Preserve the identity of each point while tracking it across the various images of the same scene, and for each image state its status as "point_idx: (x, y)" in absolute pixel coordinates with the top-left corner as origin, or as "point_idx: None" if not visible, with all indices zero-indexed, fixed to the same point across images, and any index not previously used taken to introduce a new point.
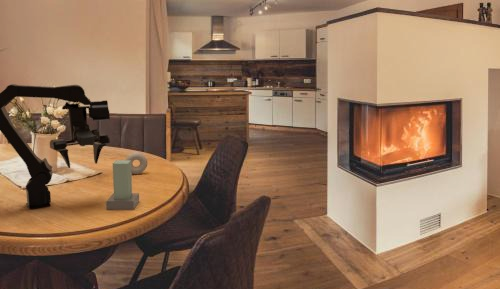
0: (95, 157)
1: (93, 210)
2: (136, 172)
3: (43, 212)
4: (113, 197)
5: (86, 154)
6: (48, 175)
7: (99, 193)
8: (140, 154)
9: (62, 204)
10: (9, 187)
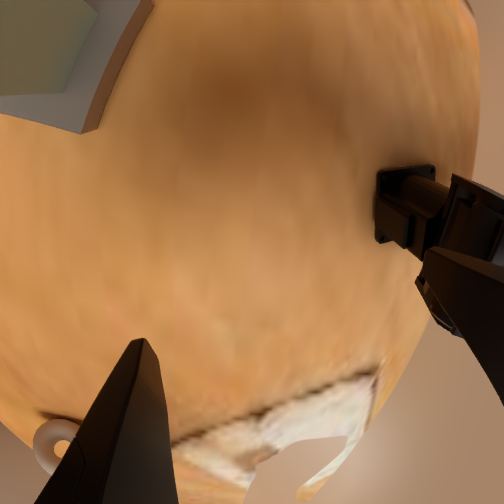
0: (141, 409)
1: (216, 17)
2: (63, 422)
3: (406, 106)
4: (93, 45)
5: (204, 498)
6: (492, 208)
7: (159, 282)
8: (45, 467)
9: (335, 174)
10: (392, 379)
